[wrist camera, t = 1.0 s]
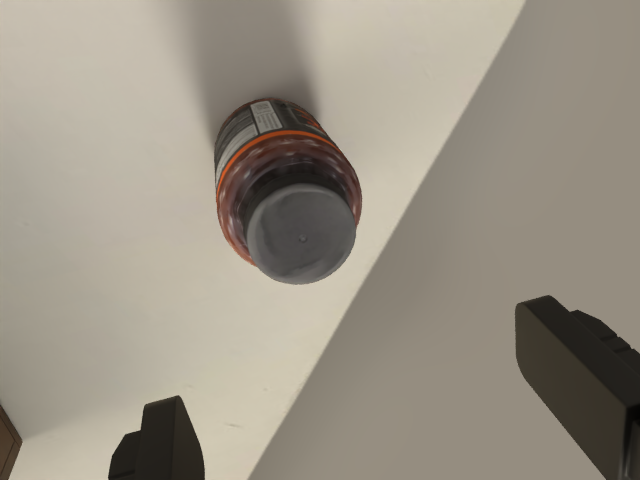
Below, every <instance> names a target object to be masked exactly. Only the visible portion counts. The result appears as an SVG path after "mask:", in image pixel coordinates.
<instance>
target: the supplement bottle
mask: <svg viewBox="0 0 640 480" xmlns="http://www.w3.org/2000/svg"><path fill="white" fill-rule="evenodd" d="M214 162H215V183H216V203H217V213H218V219H219V223H220V226H221V229H222V231H223V234H224V236H225V238H226V240H227V242H228V243H229V244H230V246H231V247H232V248H233V249H234V251H235V252H236V253H237V254H238V255H239V256H240V257H241V258H243V259H244V260H245V261H247V262H249V263H250V264H252V265H254V266H256V267H258V268H259V269H260V270H261V271H262V272H263V273H264V274H266V275H267V276H269V277H270V278H272V279H274V280H276V281H279V282H283V283H287V284H295V285H297V284H309V283H313V282H316V281H319V280H321V279H323V278H326V277H327V276H329V275H331V274H332V273H333V272H335V271H336V270H337V269H338V268H340V266H341V265H342V264H343V263H344V262H345V261H346V259H347V258H348V256H349V254H350V253H351V250H352V248H353V246H354V242H355V237H356V228H357V225H358V224H359V220H360V215H361V209H362V194H361V188H360V183H359V180H358V177H357V175H356V173H355V170H354V169H353V167H352V166H351V164H350V163H349V161H348V160H347V158H346V157H345V156H344V154H343V153H342V152H341V151H340V149H339V148H338V147H337V145H336V144H335V143H334V142H333V141H332V140H331V138H330V137H329V136H328V135H327V133H326V132H325V131H324V130H323V128H322V127H321V126H320V124H319V123H318V122H317V121H316V120H315V119H314V117H313V116H312V115H310V114H309V113H308V112H307V111H305V110H304V109H303V108H301V107H299V106H298V105H296V104H294V103H292V102H289V101H285V100H282V99H274V98H268V99H260V100H255V101H252V102H249V103H247V104H245V105H243V106H241V107H240V108H238V109H237V110H235V111H234V112H233V113H232V114H231V115H230V116H229V117H228V118H227V120H226V121H225V122H224V124H223V126H222V127H221V129H220V131H219V134H218V137H217V141H216V143H215V152H214Z"/></svg>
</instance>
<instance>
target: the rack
mask: <svg viewBox="0 0 640 480" xmlns="http://www.w3.org/2000/svg"><path fill="white" fill-rule="evenodd" d="M22 443H23V442H22V440H21V438H20V437H19V435H18V433H17V432H16V430H15V428H14V427H13V425H12V424H11V422H10V420H9V419H8V417H7V415H6V414H5V412H4V410H3V409H2V407H1V406H0V480H8V479H9V477H10V474H11V471H12V469H13V466H14V464H15V461H16V458H17V456H18V453H19V451H20V448H21V445H22Z"/></svg>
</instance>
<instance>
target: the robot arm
mask: <svg viewBox="0 0 640 480" xmlns="http://www.w3.org/2000/svg"><path fill="white" fill-rule="evenodd" d="M515 328H516V329H515V331H516V358H517V362H518V365H519V368H520V371H521V373H522V375H523V376H524V378H525V379H526V381H527V382H528V383H529V385H530V386H531V387H532V388H533V390H534V391H535V392H536V393H537V394H538V396H539V397H540V398H541V399H542V401H543V402H544V403H545V404H546V406H547V407H548V408H549V409H550V411H551V412H552V413H553V414H554V415H555V417H556V418H557V419H558V420H559V422H560V423H561V424H562V425H563V426H564V428H565V429H566V430H567V432H568V433H569V434H570V435H571V437H572V438H573V439H574V440H575V441H576V443H577V444H578V445H579V446H580V448H581V449H582V450H583V451H584V453H585V454H586V455H587V456H588V458H589V459H590V460H591V461H592V463H593V464H594V465H595V466H596V467H597V468H598V470H599V471H600V472H601V474H602V475H603V476H604V477H605V478H606V480H640V354H639V353H638V352H637V351H636V350H635V349H631V347H630V345H629V344H628V343H627V342H625V341H624V340H623V339H622V338H620V337H617V334H616V333H615V332H614V331H612V330H611V329H610V328H609V327H608V326H607V325H606V324H604V323H603V322H602V321H601V320H599V319H597V318H595V317H592V316H590V315H588V314H586V313H583V312H581V311H579V310H575V311H572V312H569V311H568V310H567V309H566V308H565V307H563V306H562V305H561V304H560V303H559V302H558V301H557V300H556V299H555V298H553V297H552V296H549V295H547V296H543V297H539V298H536V299H532V300H528V301H525V302H521V303H518V304H517V306H516V309H515ZM108 479H109V480H205V469H204V460H203V455H202V450H201V447H200V443H199V441H198V438H197V436H196V433H195V431H194V428H193V426H192V423H191V421H190V418H189V415H188V413H187V410H186V408H185V405H184V403H183V401H182V399H181V397H180V396H179V395H178V396H174V397H170V398H167V399H163V400H159V401H156V402H152V403H148V404H146V405H145V406H144V410H143V416H142V424H141V430H140V431H136V432H132V433H129V434H125V436H124V437H123V439H122V441H121V442H120V444H119V445H118V447H117V449H116V450H115V452H114V454H113V455H112V459H111V464H110V469H109V475H108Z"/></svg>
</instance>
